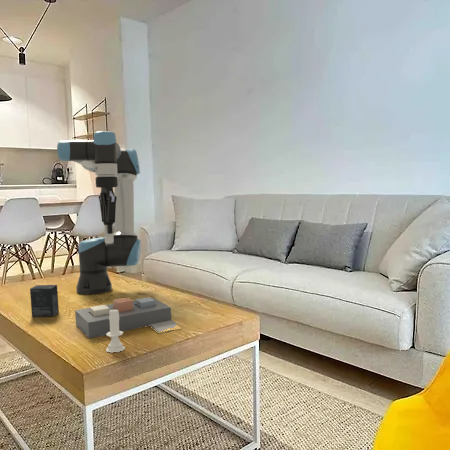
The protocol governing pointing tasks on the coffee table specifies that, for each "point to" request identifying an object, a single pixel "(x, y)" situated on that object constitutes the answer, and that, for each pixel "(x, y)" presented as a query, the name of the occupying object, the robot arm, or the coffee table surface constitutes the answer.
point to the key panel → (122, 318)
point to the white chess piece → (114, 333)
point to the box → (44, 300)
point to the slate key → (145, 302)
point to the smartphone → (163, 325)
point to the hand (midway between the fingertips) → (109, 242)
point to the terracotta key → (123, 304)
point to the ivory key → (99, 310)
